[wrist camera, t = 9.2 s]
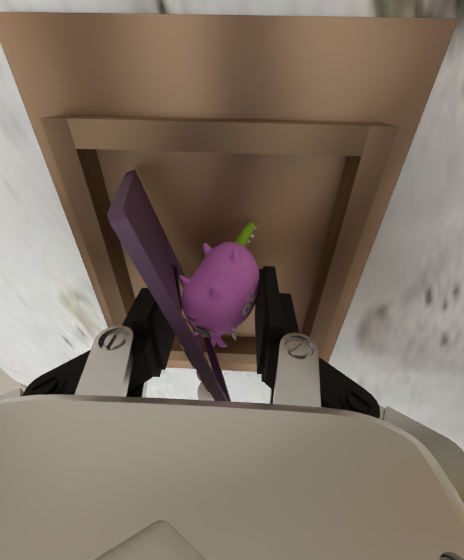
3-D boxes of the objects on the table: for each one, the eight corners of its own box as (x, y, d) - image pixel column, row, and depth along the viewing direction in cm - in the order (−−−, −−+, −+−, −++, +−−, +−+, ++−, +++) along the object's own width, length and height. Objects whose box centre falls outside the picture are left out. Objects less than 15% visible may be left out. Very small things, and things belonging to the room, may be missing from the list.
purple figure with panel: (71, 229, 5) (210, 431, 10) (298, 144, 6) (327, 377, 11) (109, 177, 11) (188, 325, 16) (223, 136, 11) (265, 292, 16)
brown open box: (437, 25, 10) (493, 6, 7) (319, 362, 21) (328, 392, 19) (13, 19, 10) (-51, -1, 8) (127, 353, 22) (114, 382, 20)
